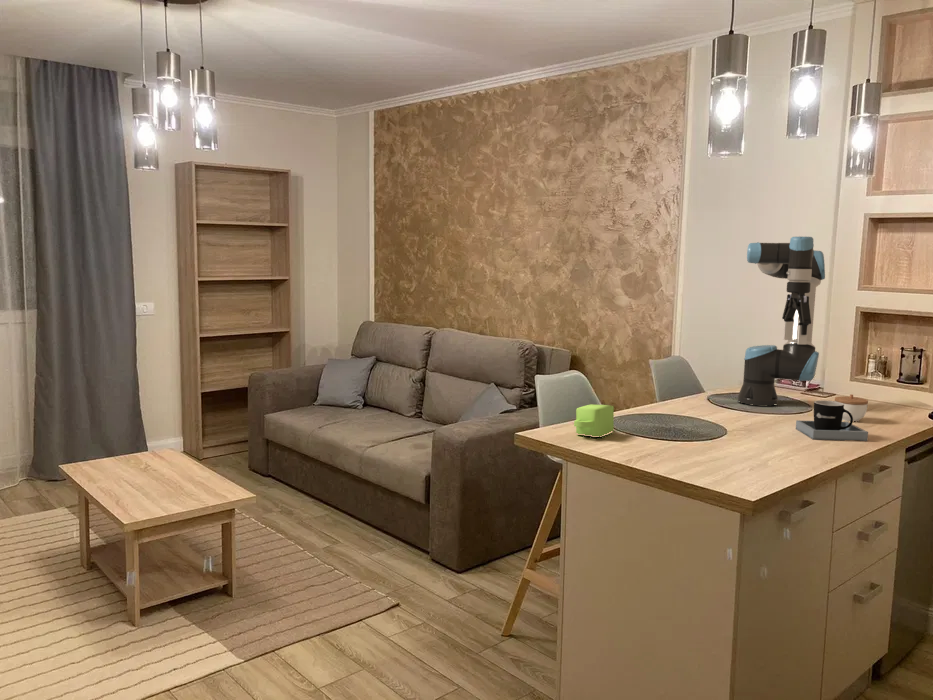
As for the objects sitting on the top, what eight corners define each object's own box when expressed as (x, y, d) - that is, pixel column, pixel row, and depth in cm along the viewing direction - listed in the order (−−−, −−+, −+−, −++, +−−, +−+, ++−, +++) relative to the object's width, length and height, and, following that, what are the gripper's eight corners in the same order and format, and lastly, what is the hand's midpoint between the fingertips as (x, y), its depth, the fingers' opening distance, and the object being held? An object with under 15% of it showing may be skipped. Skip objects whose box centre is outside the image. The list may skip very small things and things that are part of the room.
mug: (808, 433, 248) (810, 403, 246) (815, 428, 255) (817, 399, 253) (848, 439, 240) (851, 408, 239) (854, 434, 247) (856, 403, 246)
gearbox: (592, 428, 254) (592, 401, 254) (619, 431, 249) (619, 403, 248) (567, 437, 240) (567, 408, 239) (595, 440, 234) (595, 410, 233)
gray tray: (795, 428, 256) (796, 420, 255) (846, 430, 255) (847, 421, 254) (812, 439, 241) (813, 430, 240) (867, 441, 240) (868, 432, 239)
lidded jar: (863, 418, 275) (865, 393, 274) (868, 424, 265) (871, 398, 264) (831, 415, 278) (833, 391, 277) (835, 421, 268) (837, 396, 267)
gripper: (775, 280, 272) (771, 337, 275) (801, 282, 248) (796, 346, 250) (796, 280, 272) (792, 338, 275) (824, 282, 247) (819, 346, 250)
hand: (794, 342), depth 262 cm, fingers open, 13 cm apart
